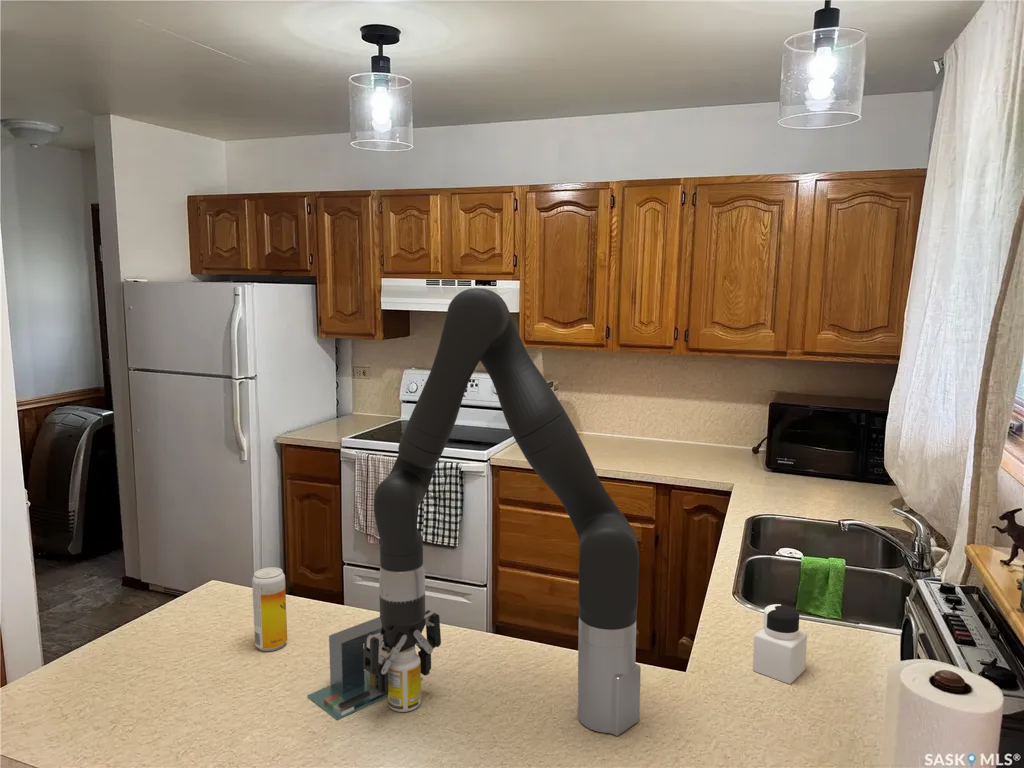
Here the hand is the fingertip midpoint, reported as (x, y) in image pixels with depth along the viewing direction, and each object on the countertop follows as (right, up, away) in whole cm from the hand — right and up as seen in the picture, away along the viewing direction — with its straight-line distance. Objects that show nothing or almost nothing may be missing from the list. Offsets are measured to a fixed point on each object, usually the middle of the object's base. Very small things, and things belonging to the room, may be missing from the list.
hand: (404, 682), depth 121 cm
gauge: (-7, -3, +5) cm, 10 cm away
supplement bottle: (0, -4, 0) cm, 4 cm away
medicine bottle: (+67, -3, +12) cm, 69 cm away
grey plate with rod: (-8, -3, +4) cm, 9 cm away
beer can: (-29, -2, +21) cm, 36 cm away
